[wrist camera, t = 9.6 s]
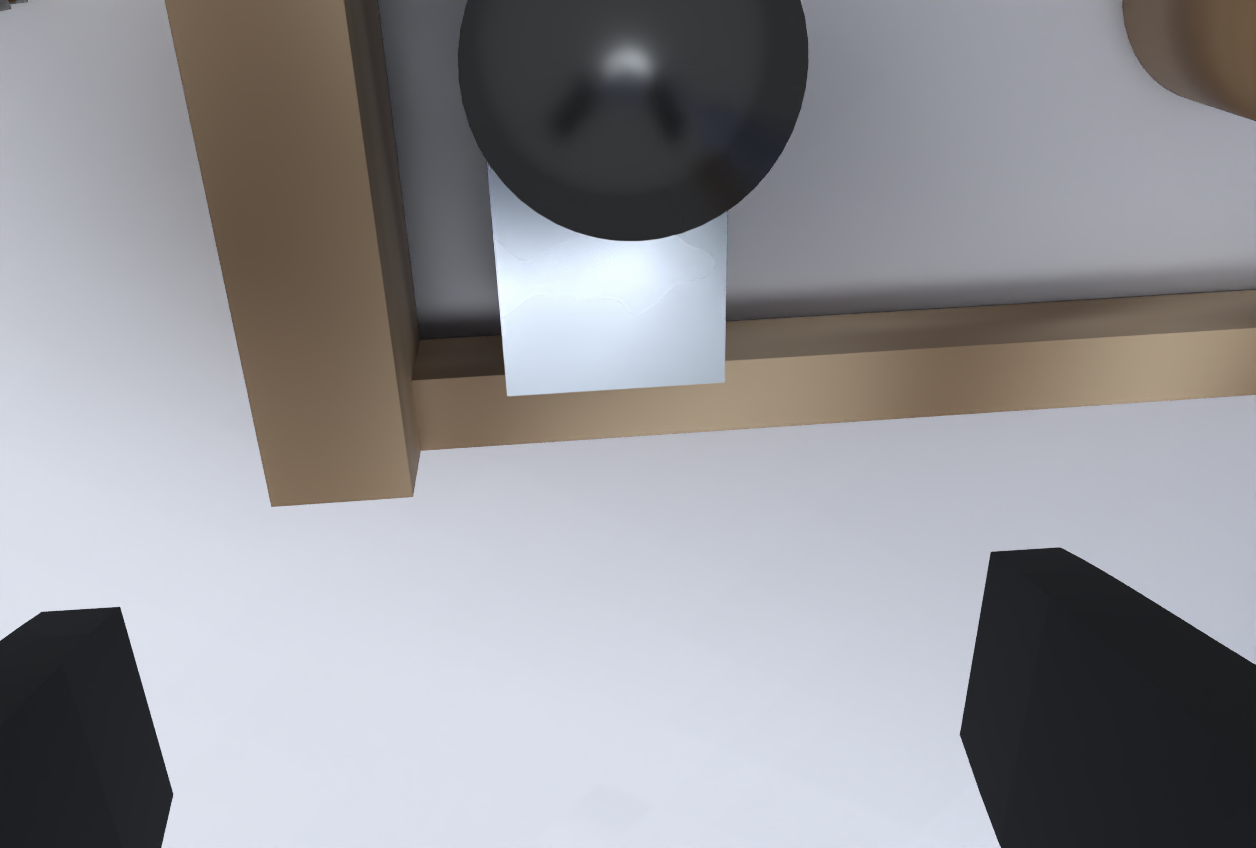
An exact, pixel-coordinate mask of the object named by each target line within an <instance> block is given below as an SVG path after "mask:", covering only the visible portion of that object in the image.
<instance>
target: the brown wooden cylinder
mask: <svg viewBox="0 0 1256 848" xmlns="http://www.w3.org/2000/svg"><path fill="white" fill-rule="evenodd" d="M1122 8H1123V16H1124V23H1125V28H1126V31H1127V35H1128V39H1129V42H1130V44H1131V46H1132V49H1133V51H1134V53H1135V55H1136V57H1137V59H1138V60H1139V62H1140V63H1141V65H1142V66H1143V68H1144V69H1145V70H1146V71H1147V72H1148V73H1149V75H1150V76H1151V77H1152V78H1153V79H1154V80H1155V81H1157V82H1158V83H1159V84H1160V85H1162V86H1163V87H1164V88H1166V89H1167V90H1169V91H1171V92H1173V93H1175V94H1177V95H1179V96H1182V97H1185V98H1188V99H1190V100H1193V101H1196V102H1199V103H1202V104H1205V105H1208V106H1212V107H1215V108H1218V109H1221V110H1224V111H1227V112H1230V113H1233V114H1236V115H1239V116H1242V117H1245V118H1248V119H1251V120H1254V121H1256V0H1122Z"/></svg>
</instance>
